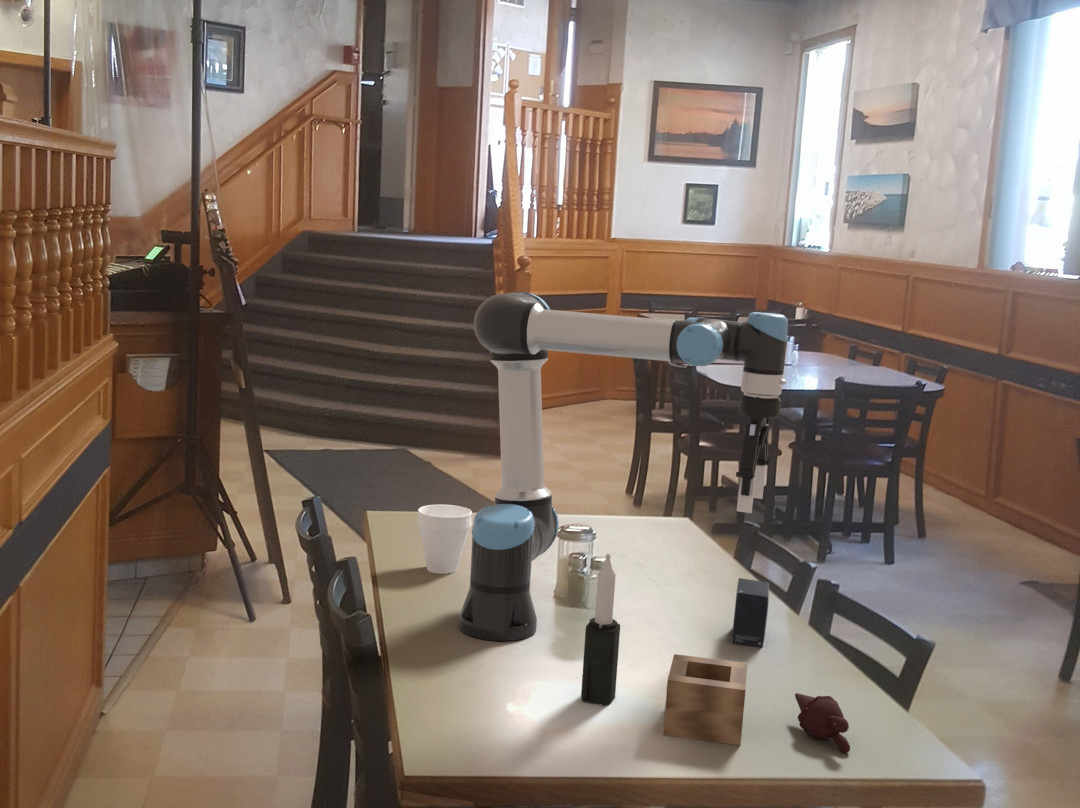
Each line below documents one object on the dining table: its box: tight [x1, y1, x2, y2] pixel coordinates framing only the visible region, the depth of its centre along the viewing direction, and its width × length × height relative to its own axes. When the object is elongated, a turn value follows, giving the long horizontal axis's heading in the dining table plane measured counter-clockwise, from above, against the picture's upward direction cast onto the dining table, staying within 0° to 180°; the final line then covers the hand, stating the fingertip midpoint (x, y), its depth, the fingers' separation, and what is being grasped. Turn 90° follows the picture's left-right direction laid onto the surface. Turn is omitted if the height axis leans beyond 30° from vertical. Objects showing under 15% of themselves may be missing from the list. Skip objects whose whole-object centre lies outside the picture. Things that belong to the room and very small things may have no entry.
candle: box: [580, 553, 621, 706], centre depth 195 cm, size 5×5×25 cm
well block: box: [662, 653, 748, 746], centre depth 188 cm, size 12×12×9 cm
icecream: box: [794, 692, 851, 754], centre depth 187 cm, size 7×7×15 cm
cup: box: [416, 504, 473, 575], centre depth 265 cm, size 12×12×14 cm
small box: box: [731, 577, 770, 648], centre depth 232 cm, size 11×6×10 cm, turn 168°
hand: (749, 504), depth 225 cm, fingers open, 13 cm apart
